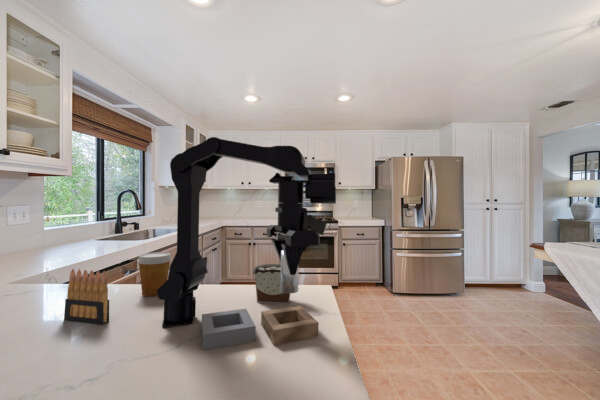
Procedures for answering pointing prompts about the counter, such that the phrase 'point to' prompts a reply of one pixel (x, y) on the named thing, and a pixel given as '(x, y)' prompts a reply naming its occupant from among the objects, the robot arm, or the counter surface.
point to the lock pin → (288, 277)
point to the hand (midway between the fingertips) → (289, 272)
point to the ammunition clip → (87, 298)
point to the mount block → (288, 325)
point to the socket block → (227, 328)
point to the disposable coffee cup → (153, 271)
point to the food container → (269, 284)
